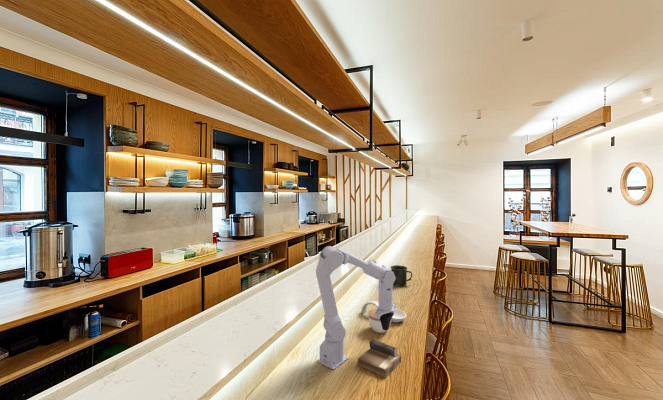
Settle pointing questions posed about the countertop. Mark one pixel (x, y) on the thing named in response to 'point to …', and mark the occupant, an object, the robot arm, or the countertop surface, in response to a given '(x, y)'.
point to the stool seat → (379, 362)
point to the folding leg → (383, 348)
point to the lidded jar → (375, 322)
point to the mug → (400, 275)
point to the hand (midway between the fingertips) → (385, 329)
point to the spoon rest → (397, 316)
